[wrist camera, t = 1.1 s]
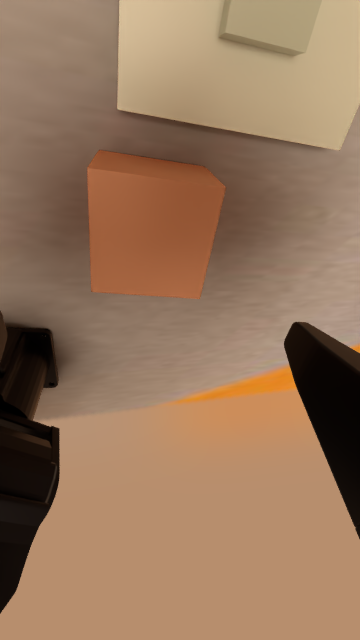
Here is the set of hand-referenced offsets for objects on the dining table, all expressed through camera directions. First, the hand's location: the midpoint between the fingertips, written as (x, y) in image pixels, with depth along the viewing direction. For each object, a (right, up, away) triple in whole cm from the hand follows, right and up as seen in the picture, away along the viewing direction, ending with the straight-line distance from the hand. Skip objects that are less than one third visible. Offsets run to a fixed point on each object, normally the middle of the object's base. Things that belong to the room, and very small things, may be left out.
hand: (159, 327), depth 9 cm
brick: (-1, +7, +9) cm, 12 cm away
